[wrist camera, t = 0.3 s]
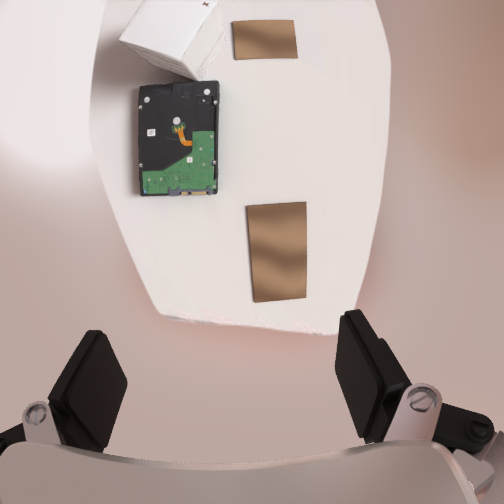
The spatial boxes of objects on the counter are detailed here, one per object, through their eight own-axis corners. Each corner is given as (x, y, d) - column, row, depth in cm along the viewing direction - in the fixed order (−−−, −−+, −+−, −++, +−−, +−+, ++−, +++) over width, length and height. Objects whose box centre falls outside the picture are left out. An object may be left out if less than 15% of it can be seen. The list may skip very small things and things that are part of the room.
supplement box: (179, 22, 28) (156, -19, 17) (227, 40, 30) (222, 0, 18) (151, 66, 31) (115, 39, 19) (199, 85, 32) (180, 62, 21)
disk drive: (144, 89, 32) (146, 194, 38) (137, 86, 30) (139, 198, 35) (220, 83, 33) (219, 191, 38) (218, 79, 30) (218, 195, 36)
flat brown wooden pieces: (232, 22, 29) (232, 21, 28) (293, 21, 29) (293, 20, 29) (254, 301, 45) (254, 302, 44) (305, 296, 45) (306, 297, 44)
